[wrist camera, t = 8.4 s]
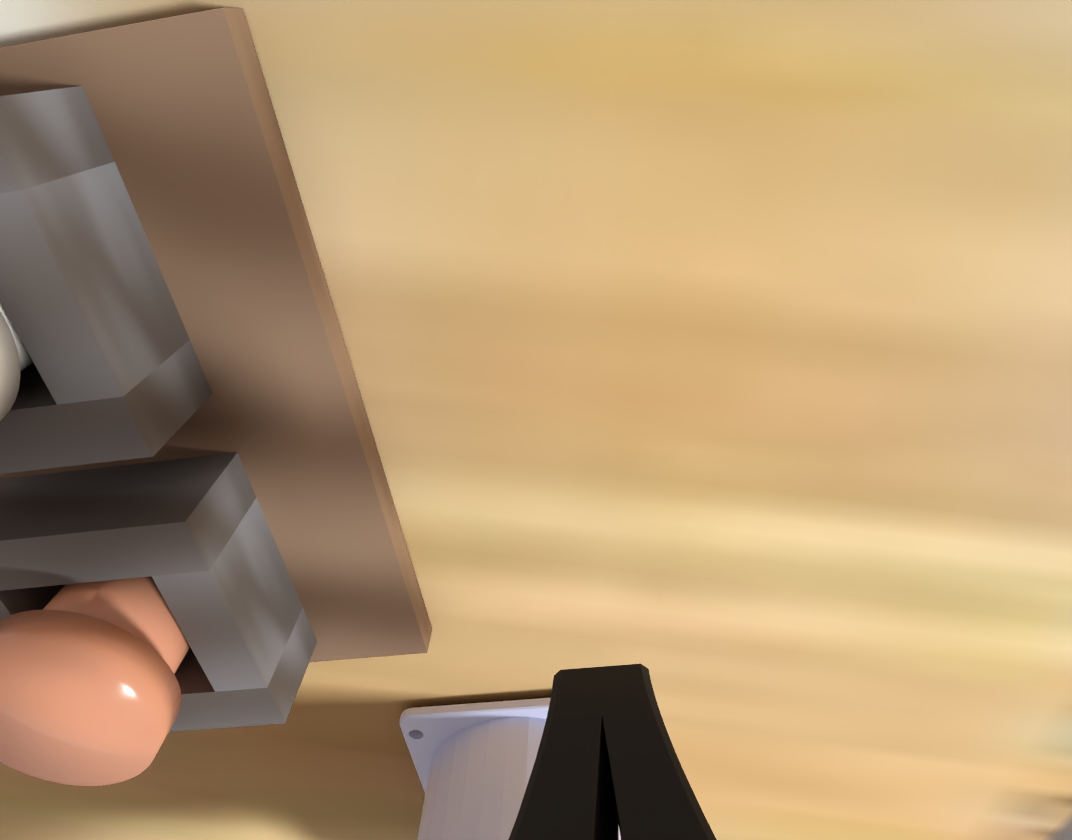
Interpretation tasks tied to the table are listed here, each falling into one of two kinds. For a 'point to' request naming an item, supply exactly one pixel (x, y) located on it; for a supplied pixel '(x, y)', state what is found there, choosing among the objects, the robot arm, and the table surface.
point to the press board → (185, 369)
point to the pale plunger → (10, 362)
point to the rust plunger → (90, 682)
